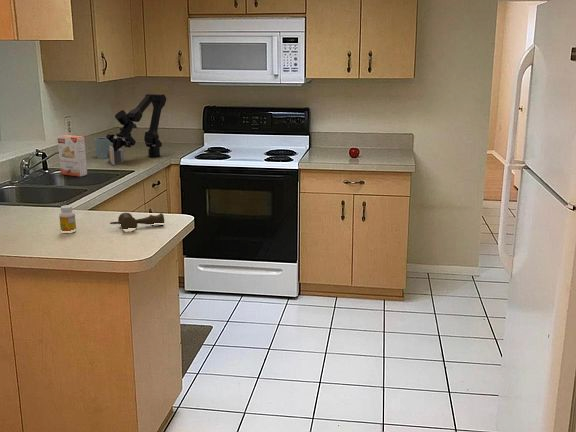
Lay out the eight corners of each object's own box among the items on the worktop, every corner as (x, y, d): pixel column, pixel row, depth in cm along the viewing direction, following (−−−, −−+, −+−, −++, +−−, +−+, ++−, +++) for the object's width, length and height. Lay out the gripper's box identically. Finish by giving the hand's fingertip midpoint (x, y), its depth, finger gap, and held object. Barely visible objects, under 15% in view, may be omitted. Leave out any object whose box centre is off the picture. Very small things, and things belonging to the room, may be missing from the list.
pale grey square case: (109, 162, 373) (108, 146, 371) (111, 162, 374) (110, 145, 372) (112, 165, 364) (111, 148, 362) (114, 165, 365) (113, 148, 362)
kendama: (166, 230, 237) (111, 234, 229) (161, 224, 245) (108, 228, 238) (166, 214, 235) (111, 218, 228) (161, 209, 244) (107, 212, 237)
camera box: (107, 162, 374) (106, 149, 372) (110, 160, 381) (109, 148, 379) (121, 162, 374) (120, 149, 372) (124, 160, 381) (123, 148, 379)
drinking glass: (99, 159, 386) (97, 139, 383) (92, 157, 393) (91, 138, 390) (115, 157, 392) (113, 138, 389) (108, 155, 400) (106, 136, 397)
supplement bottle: (57, 232, 231) (55, 206, 228) (70, 229, 235) (68, 204, 233) (66, 235, 228) (64, 209, 225) (79, 231, 232) (77, 206, 229)
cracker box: (60, 174, 338) (56, 135, 333) (68, 172, 343) (65, 134, 338) (79, 177, 332) (76, 137, 326) (87, 175, 337) (84, 136, 331)
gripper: (145, 139, 374) (133, 160, 368) (122, 136, 383) (110, 157, 377) (135, 127, 365) (123, 149, 359) (112, 125, 374) (99, 146, 368)
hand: (114, 151), depth 366 cm, fingers closed
